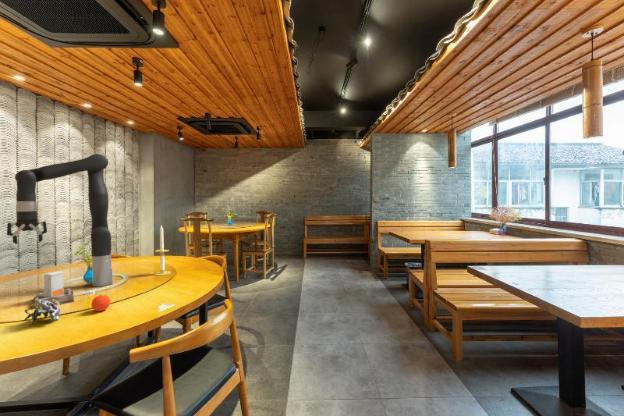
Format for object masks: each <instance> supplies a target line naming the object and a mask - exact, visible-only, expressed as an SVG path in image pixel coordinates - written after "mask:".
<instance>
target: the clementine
mask: <svg viewBox="0 0 624 416" xmlns="http://www.w3.org/2000/svg"><path fill="white" fill-rule="evenodd" d="M109 296H111V298H113V297H112V295H111V294H109V295H108V294H100V295H97V296H95V297H94V298H93V299H92V301H91V308H92V309H93V310H94V311H96V312H102V311H105V310H107V309H108V308H109V307H110V305H111V298H110V297H109Z"/></svg>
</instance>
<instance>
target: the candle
mask: <svg viewBox="0 0 624 416" xmlns="http://www.w3.org/2000/svg"><path fill="white" fill-rule="evenodd" d="M164 240H165V239H164V228H163V226H162V225H160V228H159V249H156V250H154V252H155V253H159V260H160V262H159V263H160V267H159V269H160V271H157V272H154V274H153V275H154V276H165V275H169V274H170V275H171V273H172V271H168V270H165V268H166V267H165V252H166V253H167V252H169V251H170V249H164V248H165V245H164Z"/></svg>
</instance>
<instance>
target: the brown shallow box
mask: <svg viewBox="0 0 624 416" xmlns="http://www.w3.org/2000/svg"><path fill="white" fill-rule="evenodd" d="M63 294H64V295H61V296H55V297H49V298H45V292H40V293H36V296H33V298H32V302H31V305H30V310H35V307H37V308H39V307H40V305H39V304H38V303H37V302H36V300H38V301H39V300H41V301H42V300H45V301H46V300H47V301H50V302H52V300H53V299H57V301H58V302H60V303H61V305H63V304H64V305H65V304H68V303H69V304H70V303H73V302H75V297H74V290H71V288H65V289H64V288H63ZM52 303H53V302H52ZM53 304H54V303H53ZM55 305H57V306H59V305H58V304H55Z"/></svg>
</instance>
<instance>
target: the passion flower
mask: <svg viewBox="0 0 624 416" xmlns="http://www.w3.org/2000/svg"><path fill="white" fill-rule="evenodd" d="M36 302H37V303H38V304H39V305H40V307H39V308H37V307H35V309H33V312H31V313H30V312H28V309H26V308H25V309H24V310H23V311H24V312H25V314H28V315H27V316H26V317H25V318H24V319H23V322H25V321H27V320H29V318H31V320H30V326H32V324H33V322H35V321H36V320H37V318H38V317H41V316H42V315H43V316H44V318H45V319H46V318H47V317H49V318H50V319H51V320H52V321H59V320H60V318H59V315H60V314H61V308H60V307H59V306H62V304H61V303H60V302H58V301H57V299H53V300H52V302H53V303H54V304H53V303H52V302H50V301H47V300H46V301H45V300H42V301H41V300H39V301H38V300H36ZM55 304H58V305H55Z"/></svg>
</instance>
